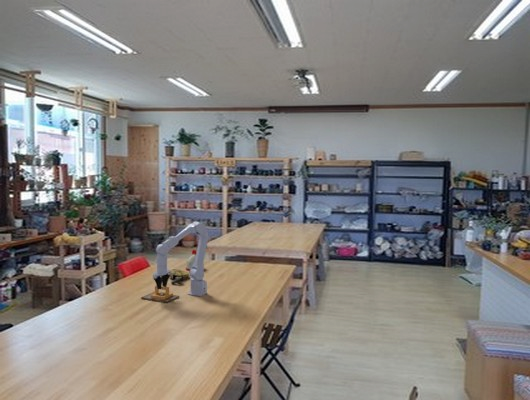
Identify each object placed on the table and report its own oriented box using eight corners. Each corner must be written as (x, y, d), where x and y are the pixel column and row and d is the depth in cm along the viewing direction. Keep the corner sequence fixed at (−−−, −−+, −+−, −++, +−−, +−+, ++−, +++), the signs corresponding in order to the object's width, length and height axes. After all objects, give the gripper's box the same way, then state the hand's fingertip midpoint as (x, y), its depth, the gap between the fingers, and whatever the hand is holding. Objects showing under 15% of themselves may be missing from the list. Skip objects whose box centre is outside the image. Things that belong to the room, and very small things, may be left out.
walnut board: (179, 297, 238) (179, 295, 238) (167, 303, 227) (167, 301, 227) (154, 293, 245) (154, 292, 245) (141, 298, 234) (141, 297, 234)
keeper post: (163, 297, 236) (163, 291, 236) (162, 298, 234) (162, 292, 234) (161, 297, 236) (161, 291, 236) (159, 297, 235) (160, 292, 235)
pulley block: (165, 275, 264) (171, 266, 294) (163, 284, 265) (170, 273, 295) (186, 278, 266) (191, 269, 296) (185, 287, 266) (189, 276, 296)
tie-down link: (172, 295, 238) (173, 285, 238) (163, 299, 230) (163, 289, 229) (160, 293, 241) (160, 283, 241) (150, 297, 233) (150, 287, 233)
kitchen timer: (198, 266, 323) (198, 248, 322) (207, 269, 312) (207, 250, 311) (182, 268, 314) (182, 249, 313) (191, 272, 303) (191, 252, 303)
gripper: (163, 262, 243) (163, 284, 243) (148, 266, 229) (148, 290, 230) (173, 263, 240) (173, 285, 241) (158, 267, 227) (158, 291, 227)
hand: (161, 288), depth 235 cm, fingers open, 4 cm apart
